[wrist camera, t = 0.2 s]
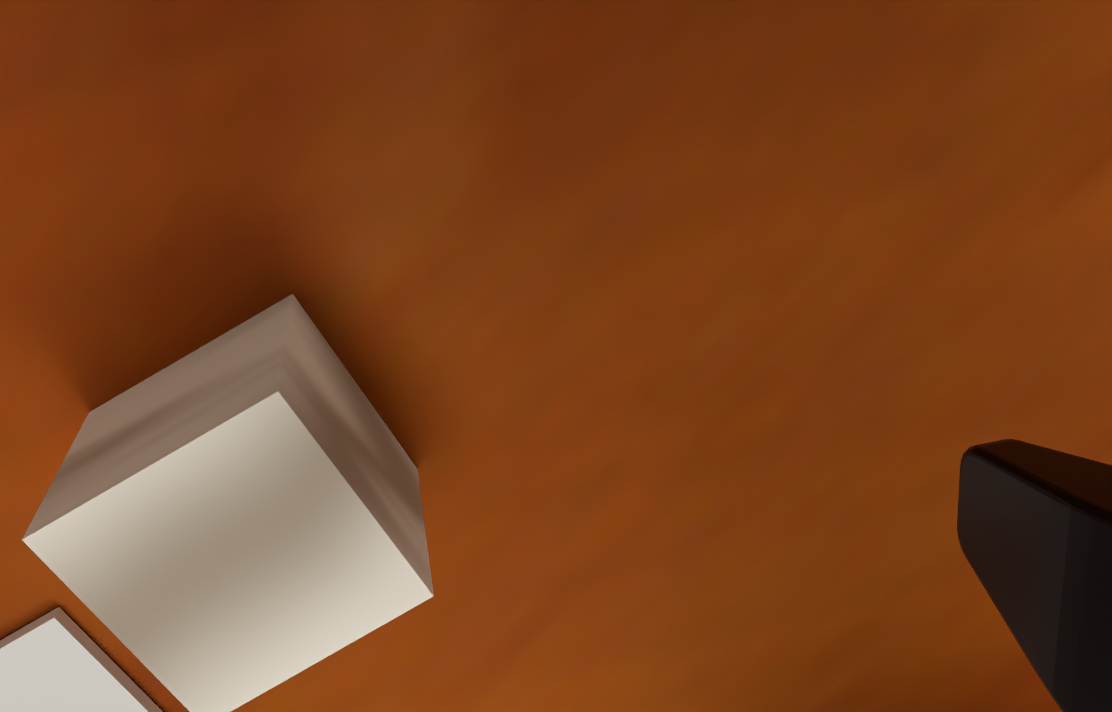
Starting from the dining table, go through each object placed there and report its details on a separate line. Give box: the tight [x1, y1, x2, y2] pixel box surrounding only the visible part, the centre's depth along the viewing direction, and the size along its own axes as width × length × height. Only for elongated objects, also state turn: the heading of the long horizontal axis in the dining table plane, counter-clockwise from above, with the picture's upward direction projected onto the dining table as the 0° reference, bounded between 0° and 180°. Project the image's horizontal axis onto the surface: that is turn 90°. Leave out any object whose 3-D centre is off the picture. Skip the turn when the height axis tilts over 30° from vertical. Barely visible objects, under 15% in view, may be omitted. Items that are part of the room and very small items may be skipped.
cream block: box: [22, 294, 434, 712], centre depth 20 cm, size 5×5×5 cm
